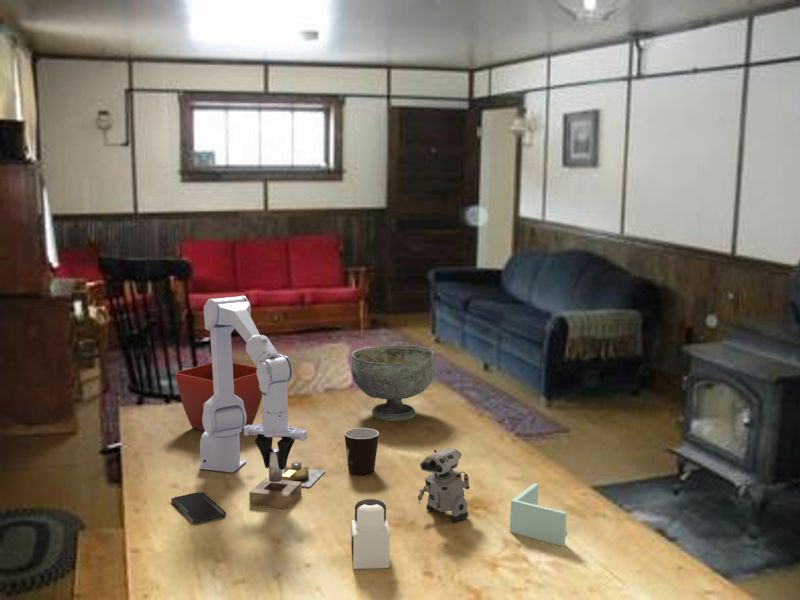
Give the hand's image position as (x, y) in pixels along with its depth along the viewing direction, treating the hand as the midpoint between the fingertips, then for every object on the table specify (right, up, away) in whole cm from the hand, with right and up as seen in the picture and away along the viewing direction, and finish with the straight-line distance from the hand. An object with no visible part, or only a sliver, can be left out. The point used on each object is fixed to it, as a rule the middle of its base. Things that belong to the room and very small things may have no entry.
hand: (275, 467), depth 196 cm
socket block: (0, -8, +1) cm, 8 cm away
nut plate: (+3, -5, +15) cm, 16 cm away
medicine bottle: (+23, -13, -28) cm, 38 cm away
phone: (-17, -9, -5) cm, 19 cm away
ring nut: (+2, -5, +13) cm, 14 cm away
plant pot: (-23, +1, +53) cm, 58 cm away
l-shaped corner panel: (+60, -11, -12) cm, 62 cm away
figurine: (+37, -10, -7) cm, 39 cm away
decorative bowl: (+26, +3, +67) cm, 72 cm away
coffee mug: (+19, -5, +21) cm, 29 cm away
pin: (0, -3, 0) cm, 3 cm away
